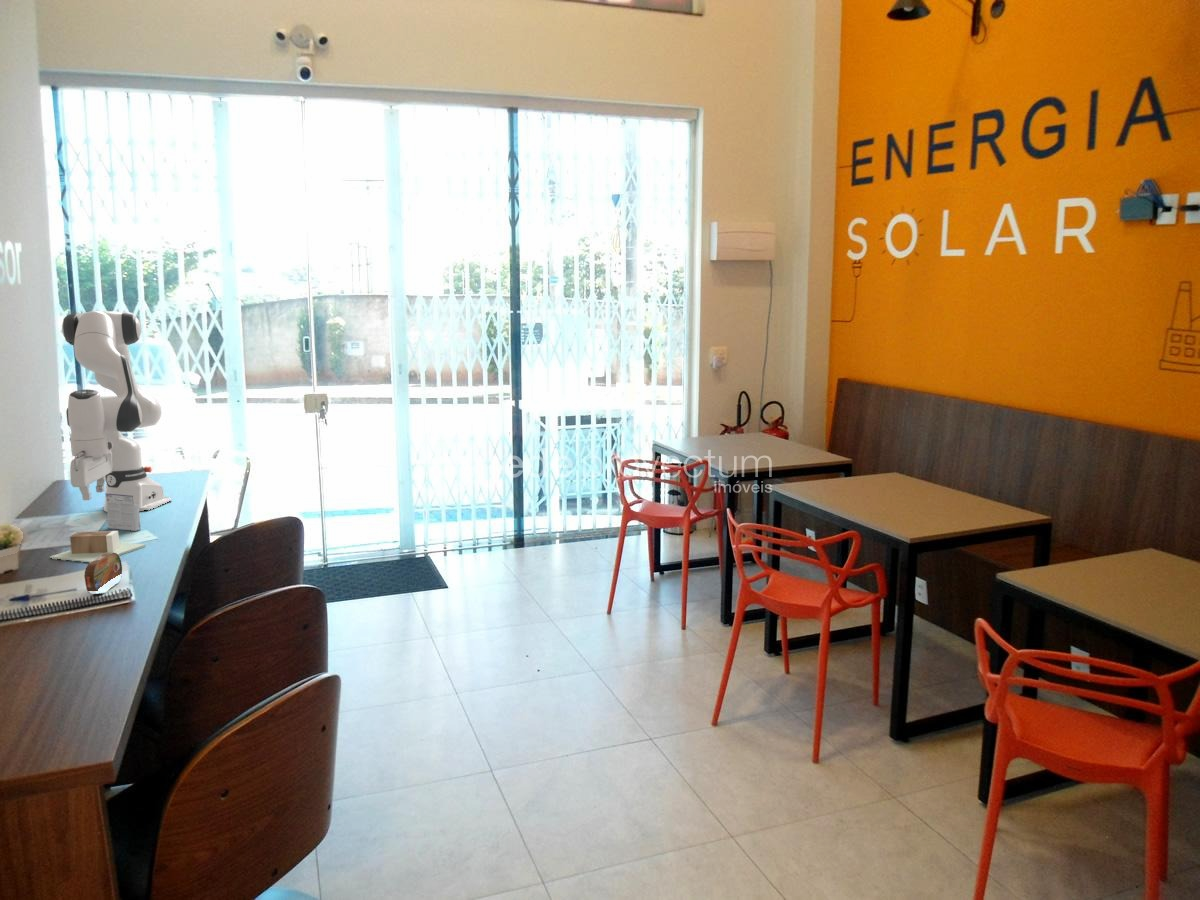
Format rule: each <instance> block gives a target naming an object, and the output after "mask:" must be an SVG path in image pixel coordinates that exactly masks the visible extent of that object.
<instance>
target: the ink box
mask: <svg viewBox="0 0 1200 900" xmlns="http://www.w3.org/2000/svg"><path fill="white" fill-rule="evenodd" d="M104 493H105V495H106V501H107V512H106V514H107V527H108V529H111V530H112V529H113V530H120V531H121V530H123V531H130V530H131V531H132V532H138V531H137V530H139V531H141V518H140V511H139V504H134V503H133V496H129V495H118V494H107V493H106V492H104ZM119 497H120V498H122V499H123V500H116V498H119ZM131 531H130V532H131Z"/></svg>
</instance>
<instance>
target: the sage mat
mask: <svg viewBox="0 0 1200 900" xmlns="http://www.w3.org/2000/svg"><path fill="white" fill-rule="evenodd" d="M145 547H146V544H144V543H133V542H125V541H123V542H122V541H119V548H118V549H117V550H115V551H114V552H106V553H77V554H72V553H71V549H70V550H66V551H63V552H60V553H57V554H54V555H51V556H49V559H50V558H52V559H51V560H57V559H61V560H60V561H66V560H72V561H71V562H74V561H82V562H81V563H83V562H92V561H94V560H95V559H97V558H98V557H100V556H101V555H103V554H107V553H117V554H118V555H119V557H120V556H123V555H125V554H128V553H131V552H134V551H137V550H140V549H142V548H145Z"/></svg>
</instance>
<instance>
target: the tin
mask: <svg viewBox="0 0 1200 900" xmlns="http://www.w3.org/2000/svg"><path fill="white" fill-rule="evenodd" d="M84 570H85V571H84V575H83V576H84V582H85V587H86V591H87V592H88V591H98V589H99V588H100V587H102V586H103V585H104V584H106V583H107V582H108V581H110V580H111V579H113V578H115V577H116V576H118V575H120V574H122V573H123V563H122V560H121V557H120V556H119V555H118V554H117V553H107V554H103V555H101V556H100V557H98V558H97V559H95V560H94V561H92V562H91V563H87V565H86V568H85V569H84Z"/></svg>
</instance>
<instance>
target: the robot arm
mask: <svg viewBox="0 0 1200 900" xmlns="http://www.w3.org/2000/svg"><path fill="white" fill-rule="evenodd" d="M61 332H62V335H63V337H64V340H65V341H66V342H67V343H68V344H69V345H71V346H73V348H74V349H73V350H74V351H73V352H74V357H75V360H76V361H77V362H78V364H80V365H81V366H82V367H83V368H85V370H88V371H90V372H92V373H93V374H94V378H95V379H94V380H95V381H96V382H97V383H98V384H99V386H101V387H102V388H104V389H108V390H109V391H112V392H113V393H114V394H115V395H116V396H111V395H110V396H101V394H100V392H98V391H97V390H93V389H78V390H75V391H72V392H70V394H69V395H68V404H67V405H68V406H67V408H66V410H65V412H66V421H67V426H68V427H69V428H70V439H69V440H70V448H71V450H70V451H71V455H72V456H73V457H74V459H72V460H71V462H70V464H69V466H70V467H69V468H70V469H69V470H70V471H69V472H70V474H69V476H70V484H71V486H72V488H78V489H79V491H80V494H81V496H82V500H83V501H89V500H91V499H92V492H90V485H91V484H93V483H95V482H96V486H95V492H96V493H102V492H104V491H105V493H107V494H118V495H129V496H133V503H134V504H139V512H143V511H144V510H148V511H151V510H154V509H155V508H159V507H160V505H161V506H163V505H162V504H164V505H166V504H168V503H167V502H169V501H171V500H172V501H173V499H172V498H171V497H170V496H169V497H168V496H165V493H164V488H163V486H162V485H161V484H160V483H159V482H156V480H153V479H152V478H150V477H148V475H147V473H151V472H152V471H153V468H152V466H147V465H146V466H144V467H143V464H142V453H141V447H140V444H139V443H138V442H137V441H135V440H133V438H132V439H131V438H129V437H126V436H125V435H123V434H122V433H121V432H127V433H129V432H131V433H132V432H133V431H135V430H137V429H140V428H147V427H152V426H155V425H156V424H158V422H159V420H161V417H162V408H161V405H160V403H159V401H158V400H157V399H155V398H154V397H152V396H151V395H149V394H148V393H146V392H145V391H144V390H143V389H142V388H141V386H139V384H138V383H137V381H136V379H135V376H134V371H133V368H132V362H131V356H130V351H129V346H130V345H133V344H136V343H137V342H138V341H139V340H140V337H141V335H142V334H141V333H142V324H141V321H140V320H139V319H138V316H137V315H136V314H135V313H134V312H131V311H126V310H125V311H122V312H121V311H113V310H111V311H110V310H100V311H99V310H91V311H87V312H80V313H79V312H72V313H70V314H67V315H66V316H65V317H64V318H63V321H62V325H61ZM116 500H123V499H122V498H120V497H119V498H116ZM172 501H171V502H172ZM165 503H166V504H165ZM169 503H170V502H169ZM158 506H159V507H158ZM153 508H154V509H153ZM150 509H151V510H150ZM103 511H104V512H105V513H107V501H106V495H105V497H104V503H103ZM144 512H145V511H144Z"/></svg>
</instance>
